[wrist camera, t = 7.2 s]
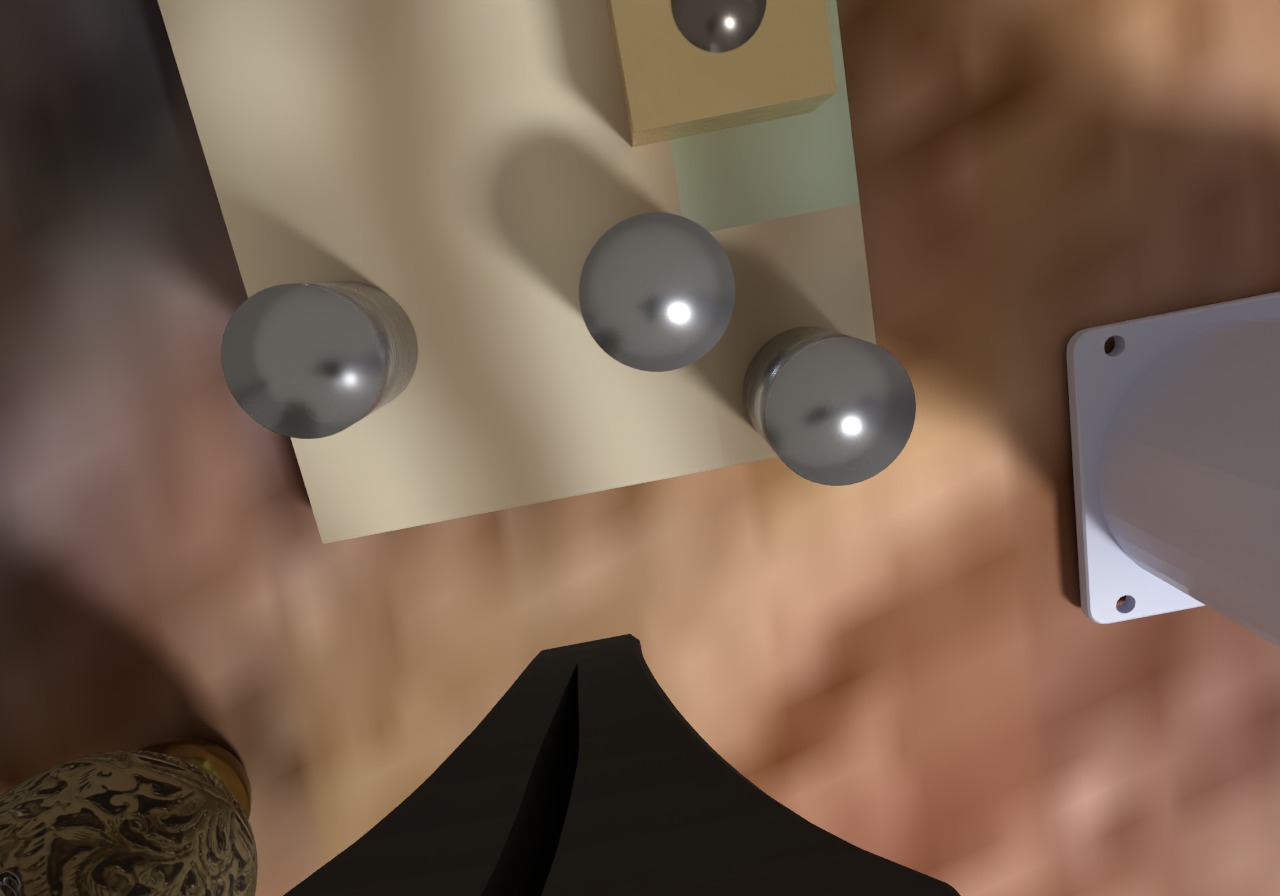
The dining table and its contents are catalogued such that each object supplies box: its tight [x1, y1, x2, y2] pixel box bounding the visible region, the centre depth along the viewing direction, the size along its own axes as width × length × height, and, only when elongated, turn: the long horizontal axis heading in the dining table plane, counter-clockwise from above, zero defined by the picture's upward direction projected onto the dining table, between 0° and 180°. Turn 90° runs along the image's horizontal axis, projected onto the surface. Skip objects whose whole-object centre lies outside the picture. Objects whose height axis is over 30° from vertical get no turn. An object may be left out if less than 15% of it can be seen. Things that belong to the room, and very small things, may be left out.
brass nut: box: [606, 0, 837, 148], centre depth 15 cm, size 4×4×2 cm
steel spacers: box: [221, 212, 916, 486], centre depth 15 cm, size 13×16×3 cm
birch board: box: [157, 0, 876, 544], centre depth 17 cm, size 14×19×1 cm
